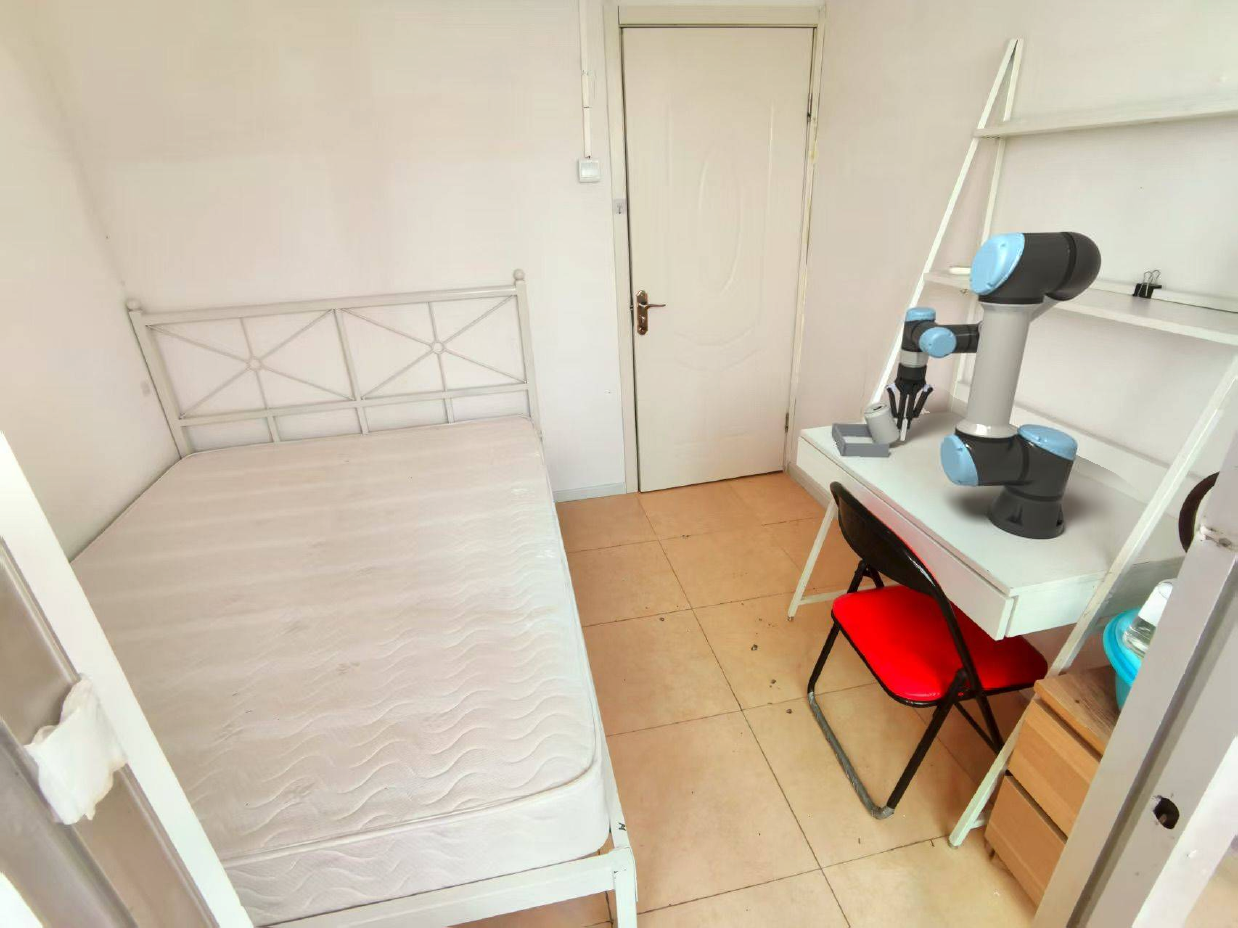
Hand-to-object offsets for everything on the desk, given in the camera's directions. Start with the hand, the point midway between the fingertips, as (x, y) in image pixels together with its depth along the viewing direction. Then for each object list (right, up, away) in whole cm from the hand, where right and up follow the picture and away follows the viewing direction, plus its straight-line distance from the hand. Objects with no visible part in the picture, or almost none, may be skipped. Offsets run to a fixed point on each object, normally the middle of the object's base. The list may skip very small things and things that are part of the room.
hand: (901, 438), depth 189 cm
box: (-12, -2, +2) cm, 13 cm away
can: (-4, -1, 0) cm, 4 cm away
